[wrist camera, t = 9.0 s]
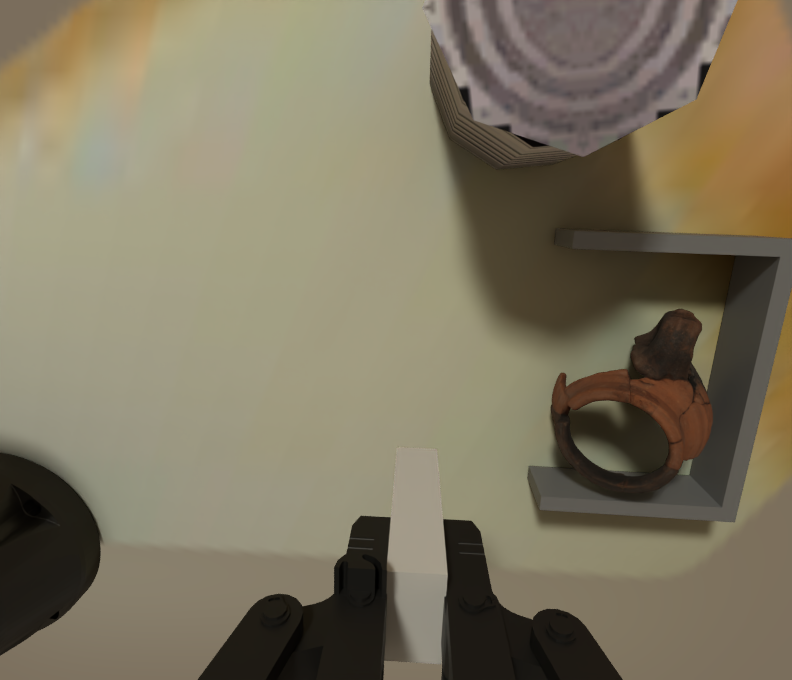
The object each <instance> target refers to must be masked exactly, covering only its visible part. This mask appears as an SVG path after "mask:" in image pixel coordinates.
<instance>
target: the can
mask: <svg viewBox="0 0 792 680" xmlns="http://www.w3.org/2000/svg"><path fill="white" fill-rule="evenodd" d="M736 2H737V0H425V1H424V4H423V7H422V9H423V11H424V13H425V15H426V17H427V20H428V22H429V24H430V26H431V28H432V29H431V58H430V85H431V88H432V91H433V93H434V96H435V99H436V102H437V104H438V107H439V110H440V113H441V116H442V118H443V121H444V124H445V127H446V129H447V132H448V135H449V138H450V139H451V140H452V141H454V142H455V143H457V144H458V145H460V146H461V147H463V148H464V149H466V150H468V151H469V152H471V153H472V154H474V155H475V156H477V157H478V158H480V159H481V160H483V161H484V162H486V163H487V164H489V165H490V166H492V167H493V168H495V169H507V168H518V167H530V166H542V165H553V164H555V163H558V162H561V161H563V160H566V159H569V158H571V157H574V156H577V155H579V156H582V157H584V156H586V155H588V154H590V153H592V152H594V151H596V150H598V149H600V148H602V147H604V146H606V145H608V144H610V143H612V142H614V141H617V140H619V139H620V138H622V137H624V136H626V135H627V134H629V133H631V132H633V131H635V130H637V129H639V128H641V127H643V126H645V125H647V124H649V123H651V122H653V121H655V120H657V119H659V118H661V117H663V116H665V115H667V114H669V113H671V112H673V111H674V110H676V109H678V108H680V107H682V106H684V105H686V104H688V103H690V102H692V101H694V100H696V99H697V96H698V94H699V91H700V89H701V87H702V84H703V82H704V79H705V77H706V75H707V72H708V70H709V67H710V65H711V63H712V60H713V58H714V55H715V53H716V50H717V48H718V46H719V43H720V41H721V38H722V36H723V34H724V31H725V29H726V26H727V24H728V22H729V19H730V17H731V14H732V12H733V10H734V7H735V5H736Z"/></svg>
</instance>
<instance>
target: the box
mask: <svg viewBox="0 0 792 680" xmlns="http://www.w3.org/2000/svg"><path fill="white" fill-rule="evenodd" d="M554 244H555V245H559V246H563V247H567V248H571V249H590V250H616V251H641V252H667V253H693V254H719V255H736V256H735V261H734V266H733V271H732V275H731V280H730V285H729V290H728V294H727V299H726V304H725V309H724V314H723V318H722V323H721V328H720V333H719V337H718V342H717V347H716V352H715V357H714V361H713V366H712V371H711V376H710V380H709V385H708V390H707V394H708V397H709V400H710V404H711V406H712V412H713V423H712V427H711V432H710V436H709V439H708V441H707V443H706V445H705V447H704V449H703V450H702V452H701V453H700V455H699V456H698V457H695V458H693V462H692V466H691V471H690V475H676V476H675V477H674V478H673V479H672V480H671V481H670V482H669V483H668V484H666V485H665V486H663V487H662V488H661V489H658V490H655V491H651V492H645V493H625V492H622V493H621V492H616V491H612V490H608V489H605V488H603V487H601V486H599V485H597V484H594V483H593V482H591V481H590V480H588V479H587V478H585V477H583V476H582V475H581V474H580V473H579V472H578V471H576V470H575V469H573V468H556V467H539V466H529V468H528V477H527V478H528V481H529V484H530V486H531V489H532V491H533V494H534V497H535V499H536V502H537V504H538V507H539V510H549V511H565V512H580V513H596V514H612V515H628V516H643V517H659V518H675V519H691V520H706V521H722V522H735V519H736V515H737V511H738V507H739V503H740V498H741V494H742V490H743V486H744V482H745V478H746V474H747V469H748V465H749V461H750V457H751V453H752V449H753V445H754V441H755V436H756V432H757V428H758V424H759V420H760V416H761V412H762V408H763V403H764V399H765V395H766V391H767V387H768V383H769V379H770V375H771V370H772V366H773V362H774V358H775V354H776V350H777V346H778V341H779V337H780V333H781V329H782V325H783V321H784V317H785V313H786V308H787V304H788V300H789V296H790V292H791V288H792V239H791V238H778V237H764V236H745V235H718V234H691V233H664V232H636V231H609V230H582V229H556V234H555V243H554ZM610 472H614V473H622V474H624V475H625V476H642V475H646V474H649V473H640V472H623V471H610Z"/></svg>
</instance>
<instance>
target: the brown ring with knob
mask: <svg viewBox="0 0 792 680" xmlns="http://www.w3.org/2000/svg"><path fill="white" fill-rule="evenodd" d="M701 331H702V323H701V322H700V321H699V320H698V319H697V318H696V317H695V316H694V314H693V313H692V312H690V311H687V310H684V309H677V310H675V311H669V312H667V313H665V314H664V316H663V317H662V318H661V320H660V321H659V323H658V324H657V325H656V327H655V328H654V329H653V330H652V331H650V332H648V333H646V334H643V335H640V336H637V337H635V338H634V340H635V344H636V345H634V347H633V350H632V351H631V360H632V362H633V366H634V367H635V369H636V370H637V371H638V372H639V373H640V374H641V375H643V376H645V377H644V378H641V379H631V378H630V376H629V372H628V370H627V369H619V370H614V371H608V372H601V373H596V374H594V375H591V376H588V377H585V378H582V379H579V380H577V381H575V382H573V383H571V384H570V385H568V386H567V387H566V374H565V373H560V375H559V376H558V378H557V381H556V384H555V387H554V390H553V394H552V405H551V413H552V417H553V421H554V424H555V435H556V439H557V442H558V445H559V448H560V450H561V452H562V454H563V456H564V457H565V458H566V460H567V461H568V462H569V463H570V464H571V465H572V466H574V468H575V470H576V471H578V472H579V473H580V474H581V475H582V476H583V477H585V478H587V479H588V480H590V481H591V482H593V483H594V484H597V485H599V486H601V487H603V488H605V489H608V490H612V491H616V492H621V493H622V492H625V493H645V492H651V491H655V490H658V489H661V488H662V487H663V486H665V485H666V484H668V483H669V482H670V481H671V480H672V479H673V478H674V477H675V476H676V475H677V473H678V471H679V468H680V467H681V465H682V462H683V460H688V459H693V458H695V457H698V456H699V455H700V453H701V452H702V450H703V449H704V447H705V445H706V443H707V441H708V439H709V436H710V432H711V427H712V423H713V412H712V406H711V404H710V400H709V397H708V394H707V392H706V389H705V387H704V385H703V383H702V380H701V378H700V377H699V375H698V373H697V371H696V369H695V368H694V366H693V365H692V363H691V361H692V358H693V350H694V346H695V344H696V341H697V338H698V336H699V334H700V332H701ZM687 379H688V380H687ZM604 400H610V401H618V402H624V403H630V404H632V405H634V406H636V407H638V408H640V409H641V410H643V411H644V412H646V413H647V414H649V415H650V416H651V417H652V418H653V419H654V420H655V421H656V422H657V423H658V424H659V425H660V426H661V428H662V429H663V431H664V432H665V434H666V437H667V440H668V444H669V454H668V457H667V459H666V462H665V464H664V465H663V466H662V467H660V468H659V469H658V470H656V471H654V472H652V473H649V474H646V475H642V476H625V475H624V474H622V473H614V472H610V471H608V470H605V469H602V468H601V467H599V466H597V465H595V464H594V463H592V462H591V461H590V460H588V459H587V458H586V457H585V456H584V455H583V454H582V453H581V452H580V450H579V449H578V448H577V447H576V445H575V444H574V442H573V440H572V437H571V432H570V419H569V416H568V413H569V411H570V409H571V408H572V409H573V410H578V409H579V408H581V407H583V406H585V405H587V404H589V403H591V402H594V401H604Z"/></svg>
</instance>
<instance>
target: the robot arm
mask: <svg viewBox="0 0 792 680" xmlns="http://www.w3.org/2000/svg"><path fill="white" fill-rule="evenodd" d="M482 544H483V543H482V538H481V533H480V531H479V529H478V528H477V527H476V526H475V524H474V523H473V522H472V521H465V520H447V519H443V514H442V502H441V490H440V478H439V466H438V455H437V449H429V448H409V447H397V452H396V464H395V475H394V487H393V499H392V511H391V518H390V517H372V516H360V517H359V518H358V520H357V521H356V522H355V523H354V524H353V525H352V529H351V534H350V539H349V544H348V549H347V553H346V555H344V556H343V557H341V558H340V559H339V560H338V561H337V563H336V565H335V567H334V594H333V595H332V596H331V597H329V598H328V599H326V600H324V601H322V602H319V603H316V604H312V605H307V606H302V605H301V603H300V602H299V601H298V600H297V599H296V598H294V597H292V596H290V595H286V594H275V595H270V596H267V597H265V598H263V599H261V600H259V601H258V602H257V603H255V604H254V605H253V606H252V607H251V608H250V610H249V611H248V612H247V614H246V615H245V616H244V618H243V619H242V621H241V622H240V623H239V625H238V626H237V627H236V629H235V630H234V631H233V633H232V634H231V635H230V637H229V638H228V639H227V641H226V642H225V643H224V645H223V646H222V648H221V649H220V650H219V652H218V653H217V654H216V656H215V657H214V658H213V660H212V661H211V662H210V664H209V665H208V666H207V668H206V669H205V671H204V672H203V673H202V675H201V676H200V677H199V679H198V680H383V675H384V661H399V662H400V661H401V662H416V663H430V664H441V660H442V679H441V680H622V678H621V677H620V675H619V674H618V672H617V671H616V669H615V668H614V667H613V665H612V664H611V662H610V661H609V659H608V658H607V656H606V655H605V653H604V652H603V651H602V649H601V648H600V646H599V645H598V643H597V642H596V641H595V639H594V638H593V636H592V635H591V633H590V632H589V631H588V629H587V628H586V626H585V625H584V624H583V623H582V622H581V621H580V620H579V619H578V618H576V617H575V616H573V615H571V614H570V613H568V612H564V611H561V610H558V609H546V610H543V611H540V612H538V613H537V614H536V615H535V616H534V618H533V620H532V619H529V618H526V617H523V616H520V615H517V614H515V613H512V612H510V611H509V610H507V609H506V608H504V607H503V606H502V605H501V604H500V603H499V601H498V599H497V597H496V596H495V595H494V594H493V592H492V589H491V584H490V579H489V574H488V568H487V563H486V558H485V555H484V548H483V545H482ZM99 563H100V541H99V535H98V532H97V528H96V526H95V523H94V521H93V518H92V516H91V514H90V513H89V511H88V509H87V508H86V506H85V505H84V503H83V502H82V500H81V499H80V498H79V497H78V495H77V494H76V493H75V492H74V491H73V490H72V489H71V488H70V487H69V486H68V485H67V484H66V483H65V482H64V481H63V480H61V479H60V478H59V477H57V476H56V475H55V474H53V473H52V472H50V471H49V470H47V469H45V468H44V467H42V466H40V465H38V464H36V463H34V462H31V461H29V460H27V459H24V458H21V457H18V456H14V455H10V454H4V453H0V655H2V654H3V653H5V652H7V651H8V650H10V649H11V648H13V647H15V646H16V645H18V644H20V643H21V642H23V641H24V640H26V639H27V638H29V637H30V636H31V635H33V634H34V633H35V632H37V631H38V630H41V629H43V628H45V627H47V626H49V625H50V624H52V623H53V622H55V621H57V620H58V619H59V618H61V617H62V616H63V615H64V614H65V613H66V612H67V611H69V610H70V609H71V607H72V606H73V605H74V604H75V603H76V602H77V601H78V600H79V598H81V596H82V595H83V594H84V593H85V592H86V591H87V590H88V588H89V587H90V586H91V584H92V582H93V581H94V579H95V577H96V574H97V572H98V568H99Z"/></svg>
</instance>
